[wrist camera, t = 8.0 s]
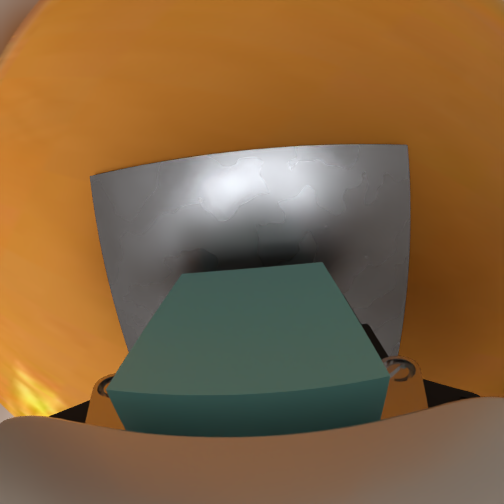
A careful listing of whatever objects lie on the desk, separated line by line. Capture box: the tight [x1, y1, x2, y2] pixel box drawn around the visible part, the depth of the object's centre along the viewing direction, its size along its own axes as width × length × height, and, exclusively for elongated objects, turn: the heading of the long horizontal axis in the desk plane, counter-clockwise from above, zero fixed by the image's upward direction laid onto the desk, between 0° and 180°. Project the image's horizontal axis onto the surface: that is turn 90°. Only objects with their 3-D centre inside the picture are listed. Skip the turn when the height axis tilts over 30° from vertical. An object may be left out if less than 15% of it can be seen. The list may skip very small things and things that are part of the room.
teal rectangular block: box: [106, 262, 390, 437], centre depth 9 cm, size 5×5×7 cm
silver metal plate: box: [90, 144, 410, 357], centre depth 10 cm, size 14×14×7 cm
